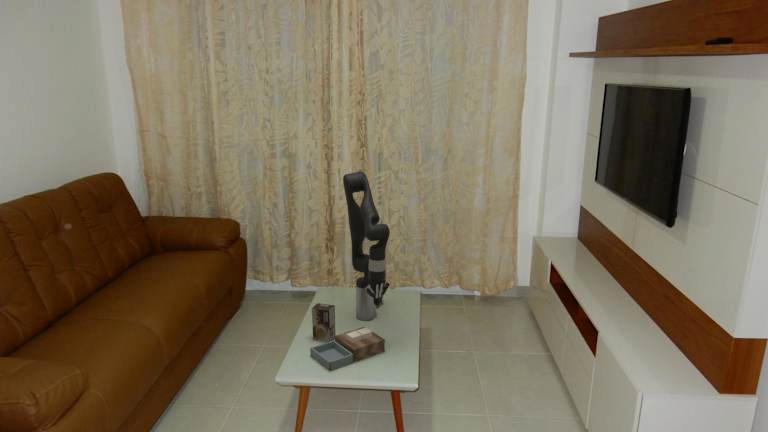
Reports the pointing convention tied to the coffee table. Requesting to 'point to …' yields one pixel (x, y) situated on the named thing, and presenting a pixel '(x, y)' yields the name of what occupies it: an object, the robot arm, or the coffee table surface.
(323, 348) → the box
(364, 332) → the rear tile
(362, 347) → the block
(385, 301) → the coffee table surface
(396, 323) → the coffee table surface
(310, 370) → the coffee table surface
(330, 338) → the coffee box
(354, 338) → the front tile
